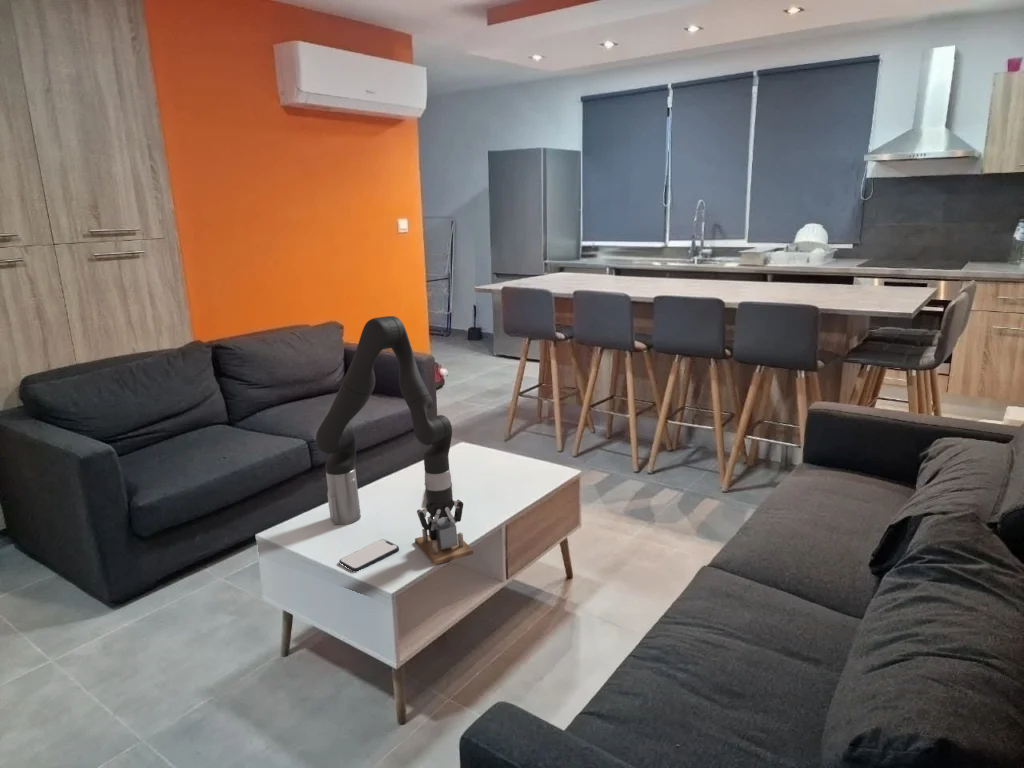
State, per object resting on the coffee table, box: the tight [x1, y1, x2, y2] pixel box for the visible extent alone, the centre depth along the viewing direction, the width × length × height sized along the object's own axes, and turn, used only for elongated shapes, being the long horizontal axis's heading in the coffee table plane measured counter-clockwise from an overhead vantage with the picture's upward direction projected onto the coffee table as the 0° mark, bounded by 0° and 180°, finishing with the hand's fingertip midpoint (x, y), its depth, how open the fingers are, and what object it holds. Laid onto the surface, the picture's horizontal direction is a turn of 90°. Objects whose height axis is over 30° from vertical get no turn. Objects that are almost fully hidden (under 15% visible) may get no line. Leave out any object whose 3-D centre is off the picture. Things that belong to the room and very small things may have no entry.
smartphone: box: [338, 538, 400, 572], centre depth 194 cm, size 9×2×16 cm
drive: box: [427, 516, 458, 550], centre depth 196 cm, size 5×10×6 cm, turn 27°
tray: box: [414, 528, 474, 566], centre depth 196 cm, size 12×16×5 cm
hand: (442, 537), depth 196 cm, fingers closed on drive, 5 cm apart
